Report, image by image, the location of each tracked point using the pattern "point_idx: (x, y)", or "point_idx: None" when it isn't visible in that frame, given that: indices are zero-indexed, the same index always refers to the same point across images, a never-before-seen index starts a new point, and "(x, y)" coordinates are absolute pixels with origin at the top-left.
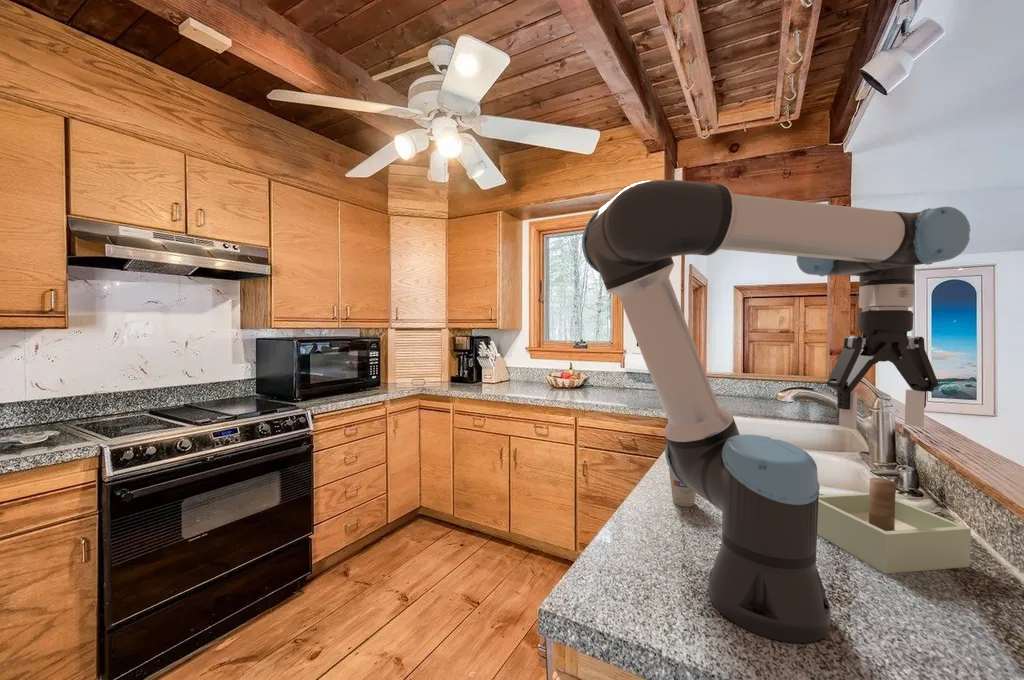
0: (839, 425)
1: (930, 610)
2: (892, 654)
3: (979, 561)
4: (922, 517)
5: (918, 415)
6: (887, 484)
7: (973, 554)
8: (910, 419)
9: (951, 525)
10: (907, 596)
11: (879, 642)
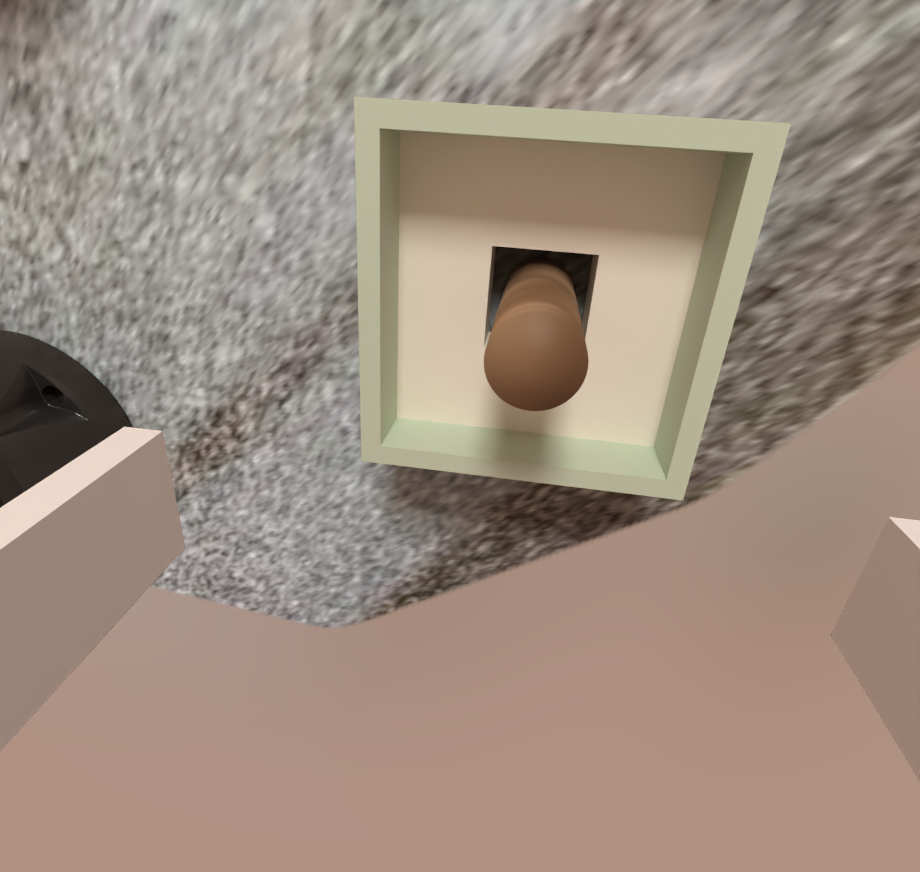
0: (122, 432)
1: (356, 522)
2: (186, 570)
3: (730, 427)
4: (691, 358)
5: (900, 725)
6: (512, 401)
7: (771, 397)
8: (900, 610)
9: (671, 456)
10: (356, 482)
11: (186, 549)
